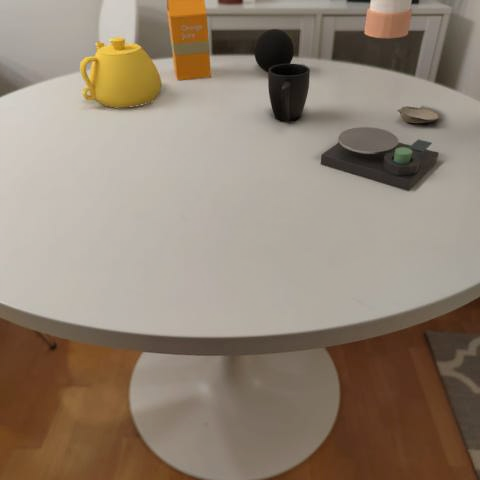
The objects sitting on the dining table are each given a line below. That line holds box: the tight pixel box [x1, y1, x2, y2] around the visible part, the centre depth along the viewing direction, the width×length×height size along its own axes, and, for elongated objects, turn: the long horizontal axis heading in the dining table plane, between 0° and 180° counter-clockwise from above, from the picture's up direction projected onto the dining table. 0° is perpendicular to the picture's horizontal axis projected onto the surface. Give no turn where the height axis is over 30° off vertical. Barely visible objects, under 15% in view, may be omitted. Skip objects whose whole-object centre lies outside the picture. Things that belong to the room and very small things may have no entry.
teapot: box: [79, 36, 163, 108], centre depth 105 cm, size 20×19×13 cm
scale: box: [320, 142, 440, 192], centre depth 78 cm, size 16×12×4 cm
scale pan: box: [337, 126, 433, 154], centre depth 77 cm, size 14×10×1 cm
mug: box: [267, 63, 311, 123], centre depth 92 cm, size 8×12×10 cm
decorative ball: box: [253, 28, 295, 73], centre depth 116 cm, size 10×10×10 cm
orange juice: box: [166, 0, 212, 81], centre depth 114 cm, size 8×9×20 cm
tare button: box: [394, 147, 412, 164], centre depth 73 cm, size 3×3×2 cm
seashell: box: [396, 106, 440, 124], centre depth 92 cm, size 8×3×8 cm
